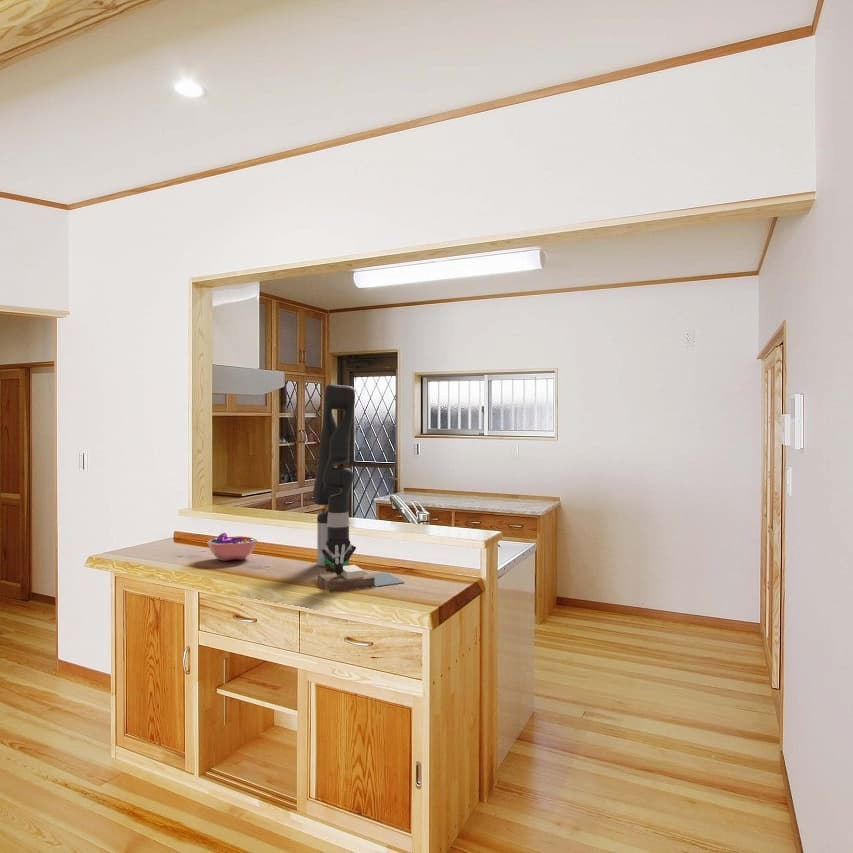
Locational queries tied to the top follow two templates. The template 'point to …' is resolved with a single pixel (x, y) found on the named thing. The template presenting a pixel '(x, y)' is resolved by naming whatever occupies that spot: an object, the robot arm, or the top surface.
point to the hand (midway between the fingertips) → (338, 573)
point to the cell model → (231, 547)
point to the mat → (385, 579)
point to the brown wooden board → (344, 582)
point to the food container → (330, 566)
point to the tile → (352, 572)
